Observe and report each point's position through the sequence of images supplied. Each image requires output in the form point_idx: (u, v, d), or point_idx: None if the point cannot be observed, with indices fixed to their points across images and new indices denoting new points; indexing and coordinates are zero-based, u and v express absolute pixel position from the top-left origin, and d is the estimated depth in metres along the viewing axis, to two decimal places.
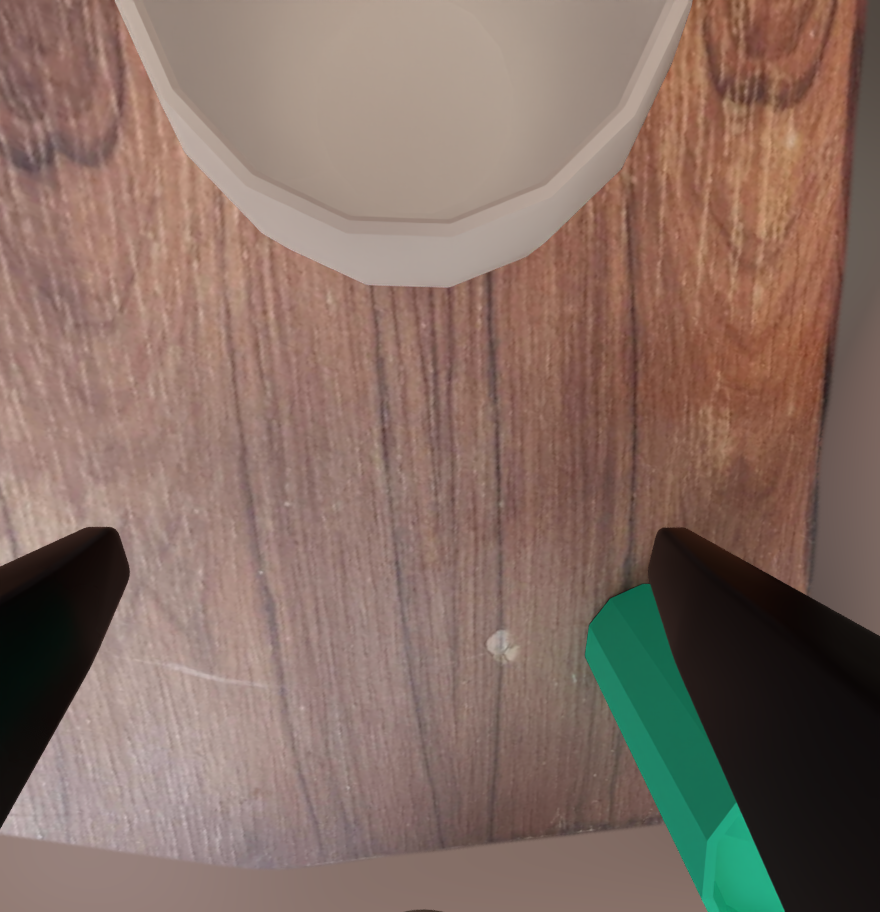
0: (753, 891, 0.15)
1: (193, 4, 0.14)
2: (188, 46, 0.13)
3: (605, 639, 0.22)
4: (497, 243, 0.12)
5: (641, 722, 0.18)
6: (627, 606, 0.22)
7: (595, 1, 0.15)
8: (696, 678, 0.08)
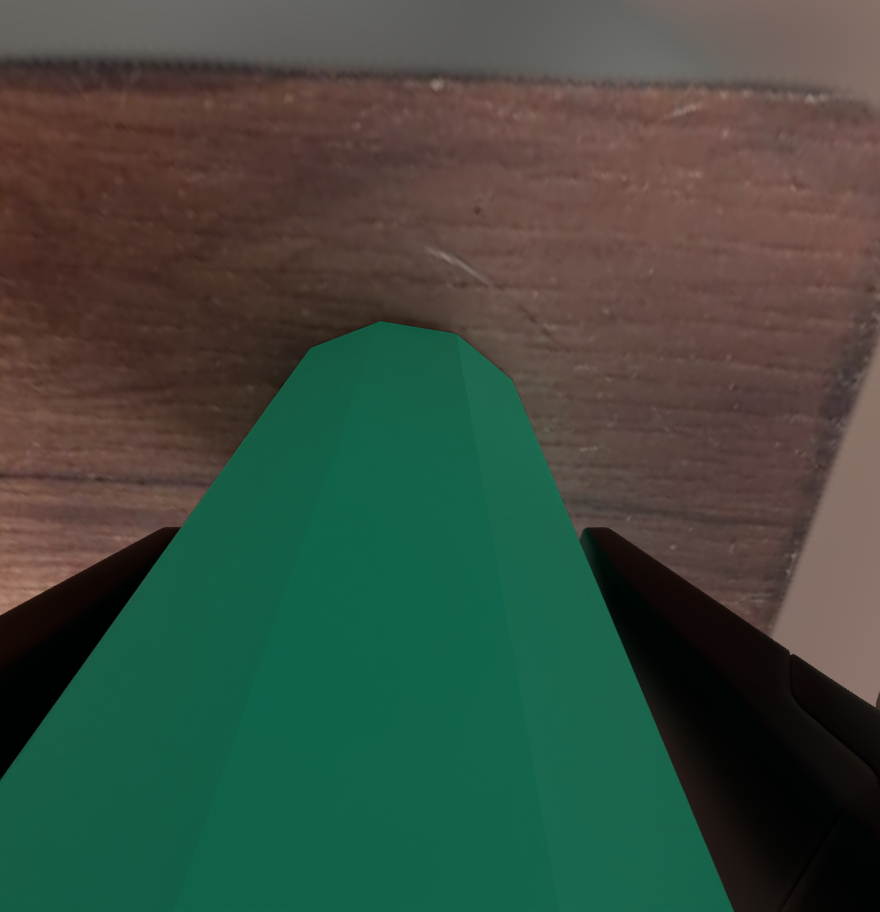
0: None
1: None
2: None
3: None
4: None
5: None
6: None
7: None
8: None
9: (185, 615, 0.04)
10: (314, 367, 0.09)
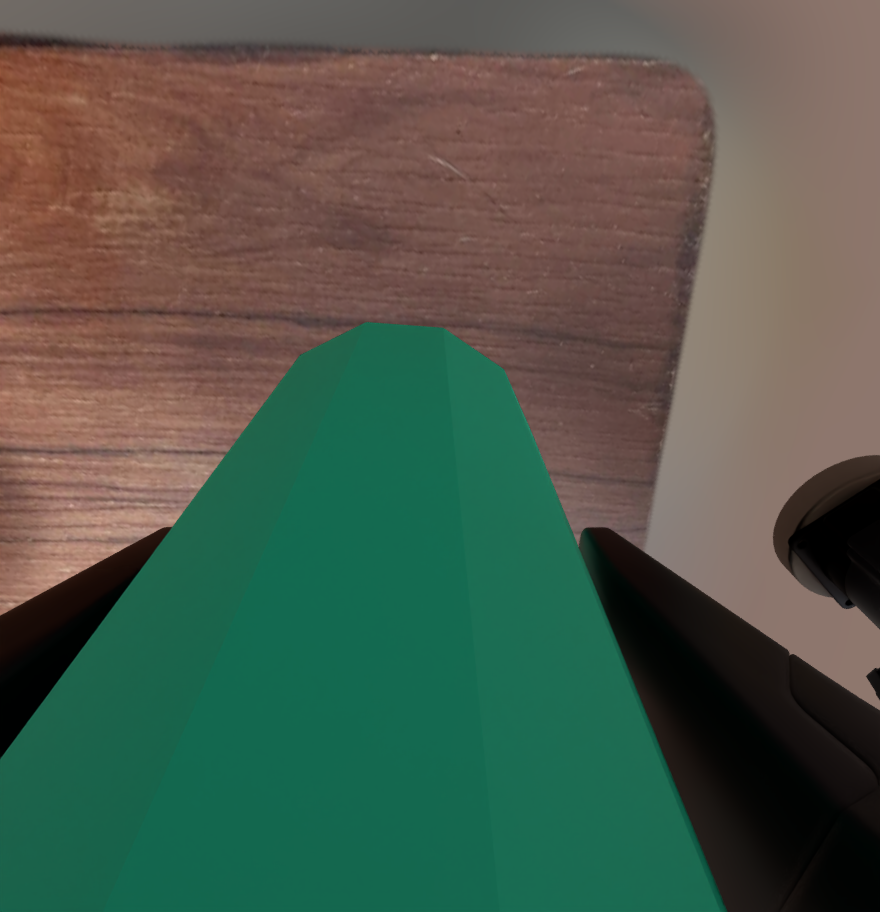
0: None
1: None
2: None
3: None
4: None
5: None
6: None
7: None
8: None
9: (154, 625, 0.04)
10: (301, 373, 0.09)
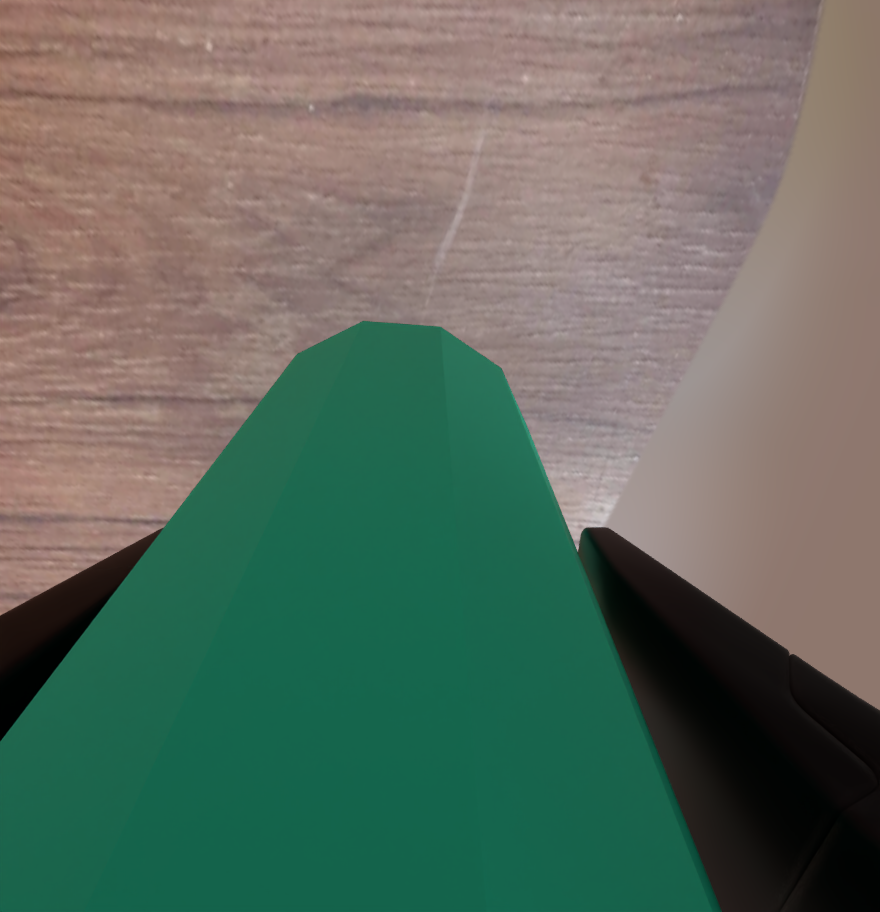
0: None
1: None
2: None
3: None
4: None
5: None
6: None
7: None
8: None
9: (144, 623, 0.04)
10: (297, 372, 0.09)
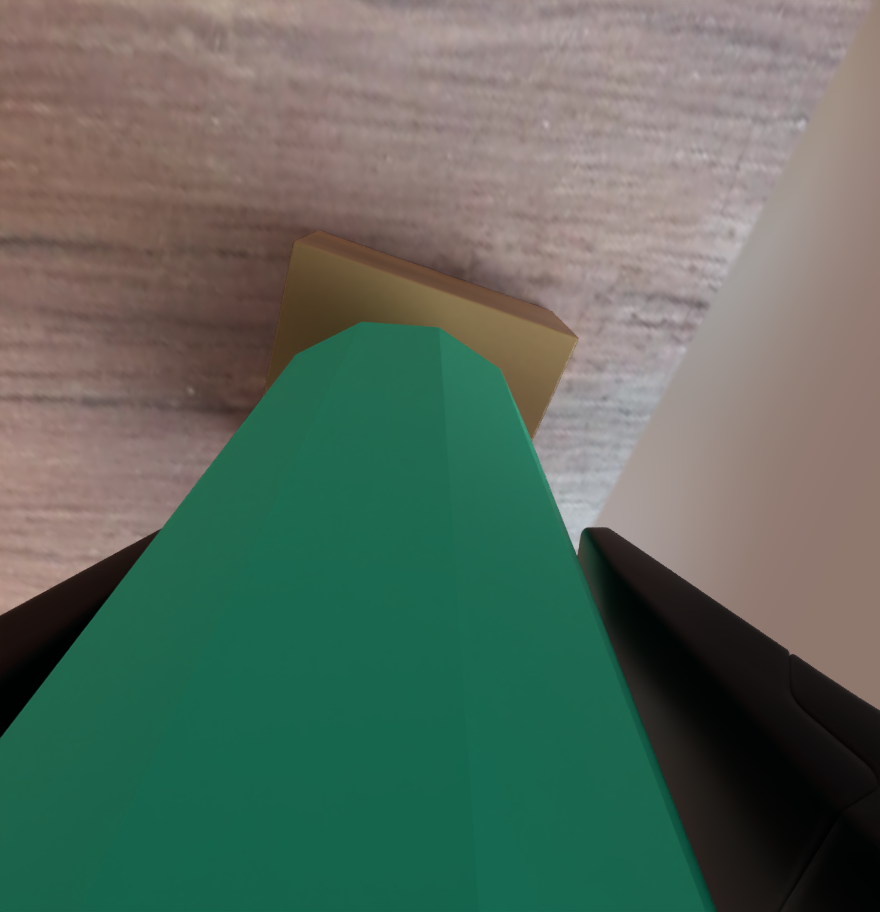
0: None
1: None
2: None
3: None
4: None
5: None
6: None
7: None
8: None
9: (139, 626, 0.04)
10: (295, 373, 0.09)
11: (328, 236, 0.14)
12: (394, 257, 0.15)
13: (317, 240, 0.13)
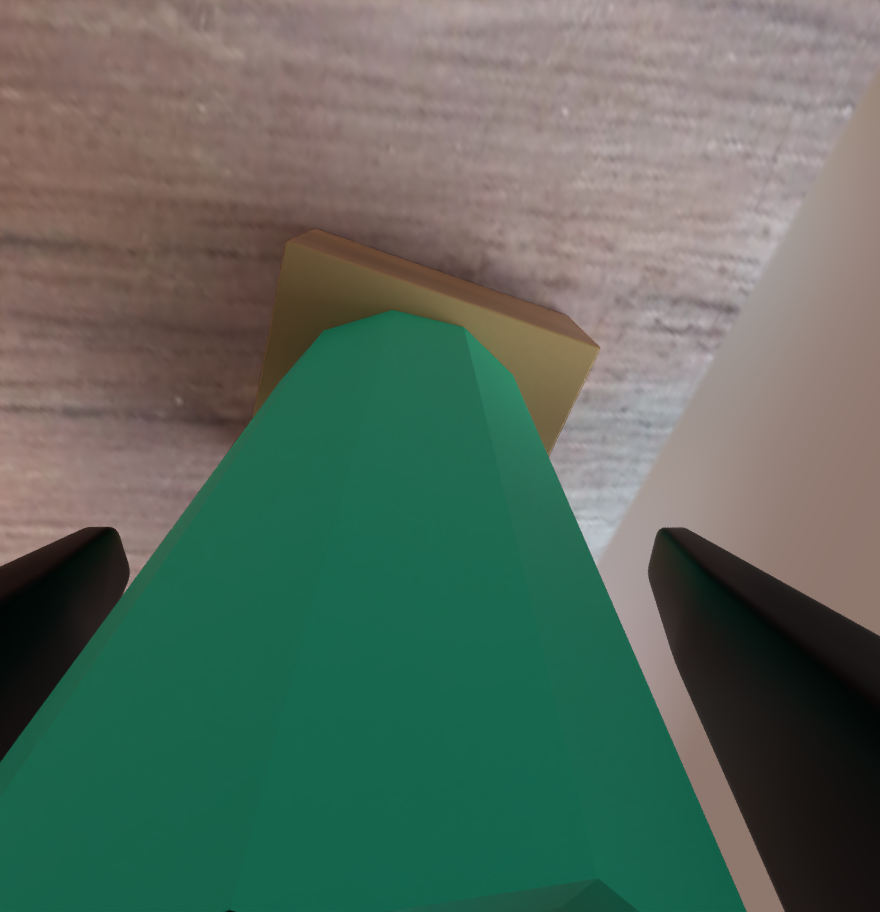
0: None
1: None
2: None
3: None
4: None
5: None
6: None
7: None
8: (696, 678, 0.08)
9: (424, 539, 0.04)
10: (412, 337, 0.10)
11: (325, 235, 0.13)
12: (397, 257, 0.13)
13: (312, 239, 0.12)
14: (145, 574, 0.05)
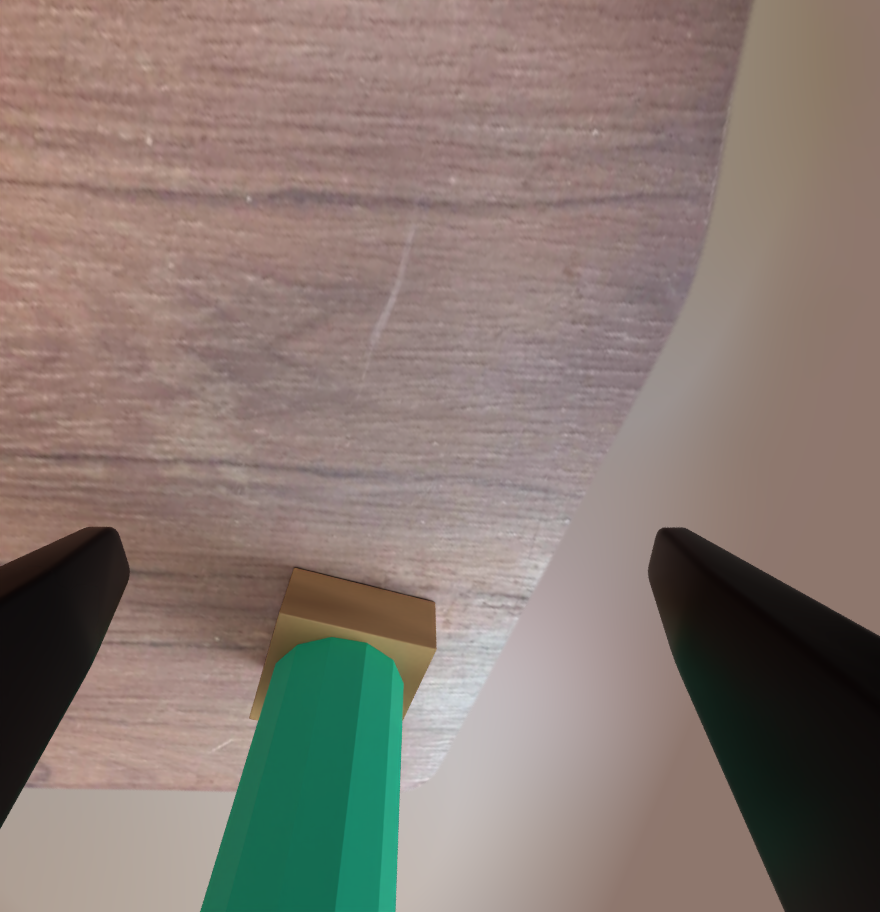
0: None
1: None
2: None
3: None
4: None
5: None
6: None
7: None
8: (696, 678, 0.08)
9: (316, 837, 0.16)
10: (336, 672, 0.21)
11: (300, 576, 0.25)
12: (339, 581, 0.25)
13: (292, 596, 0.23)
14: (234, 834, 0.17)
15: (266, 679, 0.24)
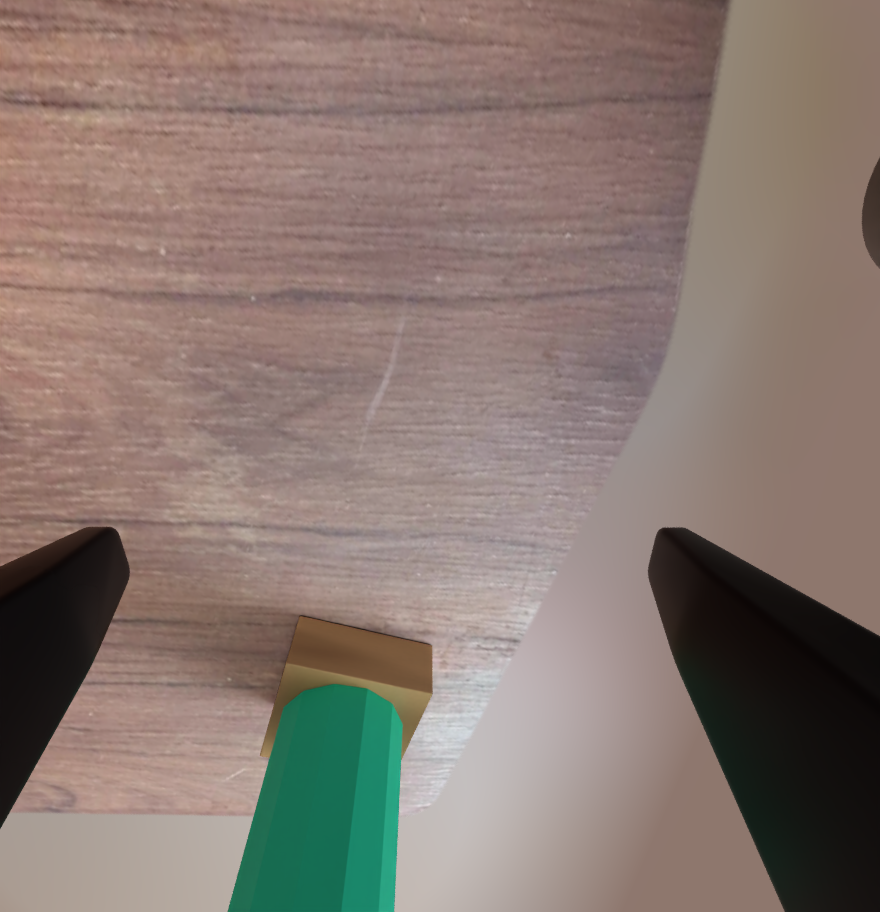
0: None
1: None
2: None
3: None
4: None
5: None
6: None
7: None
8: (696, 678, 0.08)
9: (320, 883, 0.18)
10: (339, 720, 0.23)
11: (305, 625, 0.26)
12: (341, 628, 0.27)
13: (298, 646, 0.25)
14: (247, 877, 0.19)
15: (275, 721, 0.26)
